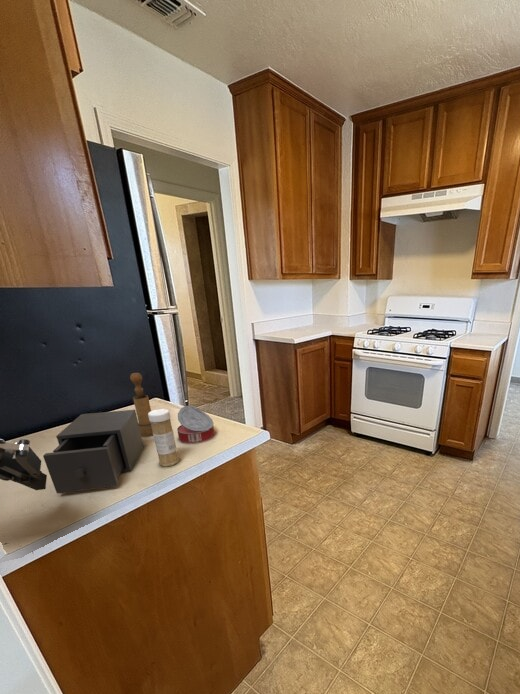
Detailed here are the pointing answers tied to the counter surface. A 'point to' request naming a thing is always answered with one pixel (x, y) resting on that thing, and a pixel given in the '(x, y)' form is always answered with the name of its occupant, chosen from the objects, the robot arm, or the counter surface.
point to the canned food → (194, 425)
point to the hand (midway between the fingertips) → (41, 482)
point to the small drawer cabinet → (109, 431)
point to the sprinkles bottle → (163, 437)
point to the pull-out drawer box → (85, 463)
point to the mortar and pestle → (141, 406)
